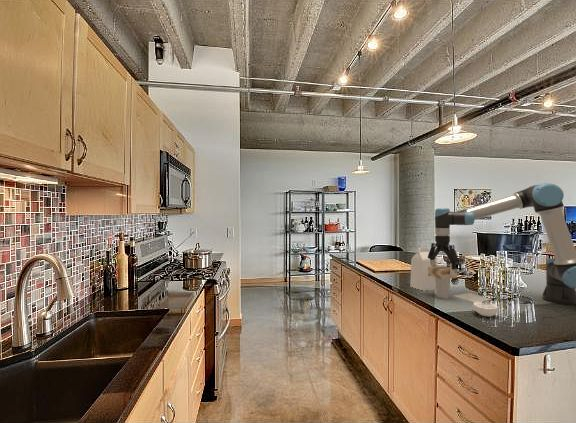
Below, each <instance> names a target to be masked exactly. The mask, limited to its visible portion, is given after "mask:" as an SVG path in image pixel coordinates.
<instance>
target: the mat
mask: <svg viewBox="0 0 576 423" xmlns="http://www.w3.org/2000/svg"><path fill="white" fill-rule="evenodd" d="M452 297H454V298H455V297H456V298H459V299H462V300H465V301H469V302H472V303H474V302H482V301H484V300H487V301H491V300H493V299H492V298H489V297H485V296H481V295H478V294H474V293H471V292H467V293H460V294H453V295H452Z"/></svg>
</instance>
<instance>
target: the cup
mask: <svg viewBox="0 0 576 423" xmlns="http://www.w3.org/2000/svg"><path fill="white" fill-rule="evenodd" d="M451 279H452V278H450V279H440V278H436V277H435V281H436V297H437V298H438V299H444V300H445V299H450V291H451V290H450V289H451V288H450V287H451Z"/></svg>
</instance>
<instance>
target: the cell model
mask: <svg viewBox="0 0 576 423" xmlns="http://www.w3.org/2000/svg"><path fill="white" fill-rule="evenodd" d="M473 309H474V312H477V313H478V314H479V315H480V316H482V317H489V318H490V317H493V316H495V315H496V314H498V312H499V309H500V308H499V306H498V305H497V304H495V303H492V302H490V300H484V301H480V302H473Z"/></svg>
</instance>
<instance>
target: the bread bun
mask: <svg viewBox="0 0 576 423" xmlns="http://www.w3.org/2000/svg"><path fill="white" fill-rule="evenodd" d="M428 276H432V277H436V278H440V279H450V278H451V279H457V278H458V268H456V269H455V275H450V266H445V265H437V266H434V267H428ZM451 279H450V280H451Z"/></svg>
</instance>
